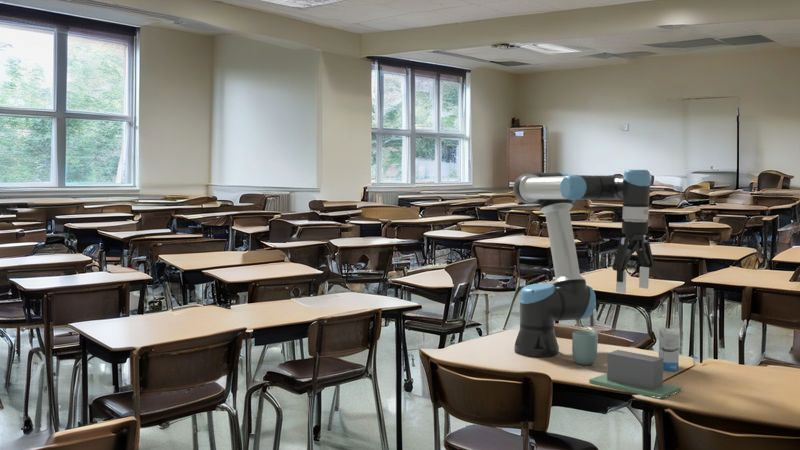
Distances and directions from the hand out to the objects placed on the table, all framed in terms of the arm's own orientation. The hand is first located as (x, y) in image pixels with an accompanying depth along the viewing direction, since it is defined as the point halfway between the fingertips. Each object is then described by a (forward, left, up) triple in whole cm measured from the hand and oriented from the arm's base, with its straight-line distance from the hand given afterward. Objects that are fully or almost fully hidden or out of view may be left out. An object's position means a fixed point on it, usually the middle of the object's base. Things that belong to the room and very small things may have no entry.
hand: (632, 290), depth 216 cm
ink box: (+4, +16, -26) cm, 31 cm away
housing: (+7, -12, -25) cm, 28 cm away
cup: (-17, +1, -26) cm, 31 cm away
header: (+7, -12, -26) cm, 29 cm away
